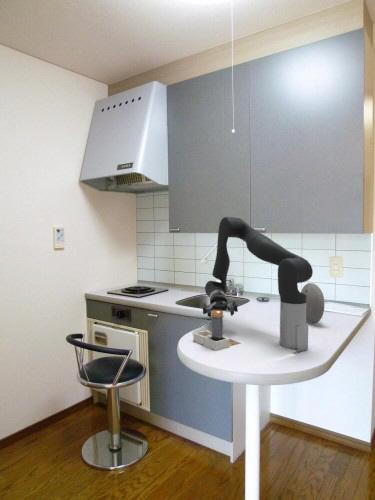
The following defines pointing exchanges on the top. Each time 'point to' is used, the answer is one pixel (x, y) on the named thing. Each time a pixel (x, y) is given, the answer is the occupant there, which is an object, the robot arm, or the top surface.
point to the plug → (217, 325)
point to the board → (231, 343)
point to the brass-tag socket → (216, 343)
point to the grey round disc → (313, 302)
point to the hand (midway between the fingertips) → (221, 314)
